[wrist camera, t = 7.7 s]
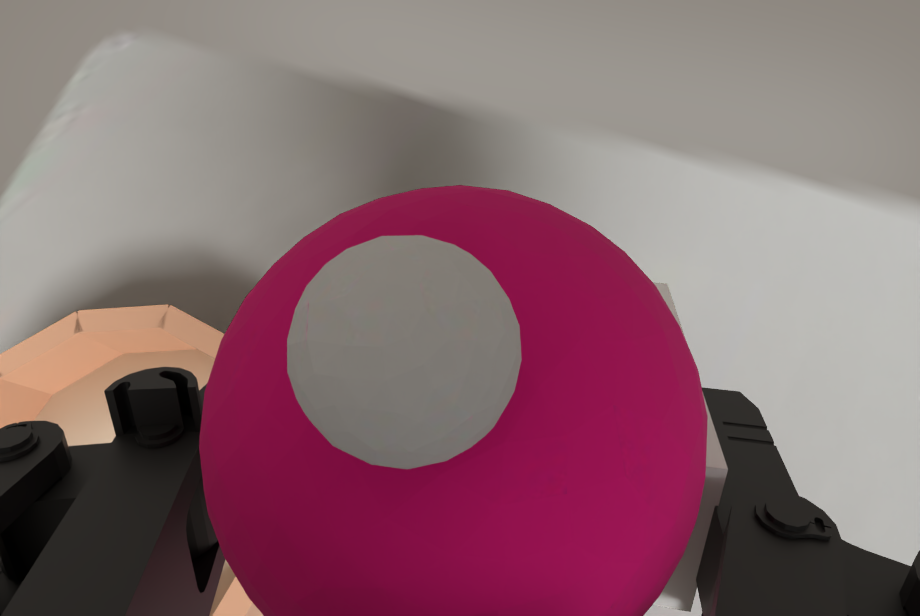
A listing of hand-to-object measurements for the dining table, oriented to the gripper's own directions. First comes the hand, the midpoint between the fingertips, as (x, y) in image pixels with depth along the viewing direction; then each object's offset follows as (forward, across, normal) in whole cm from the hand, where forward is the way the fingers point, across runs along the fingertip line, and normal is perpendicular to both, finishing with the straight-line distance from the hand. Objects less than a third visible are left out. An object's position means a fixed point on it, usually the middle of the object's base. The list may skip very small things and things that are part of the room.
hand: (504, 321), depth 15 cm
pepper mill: (+4, 0, -9) cm, 10 cm away
